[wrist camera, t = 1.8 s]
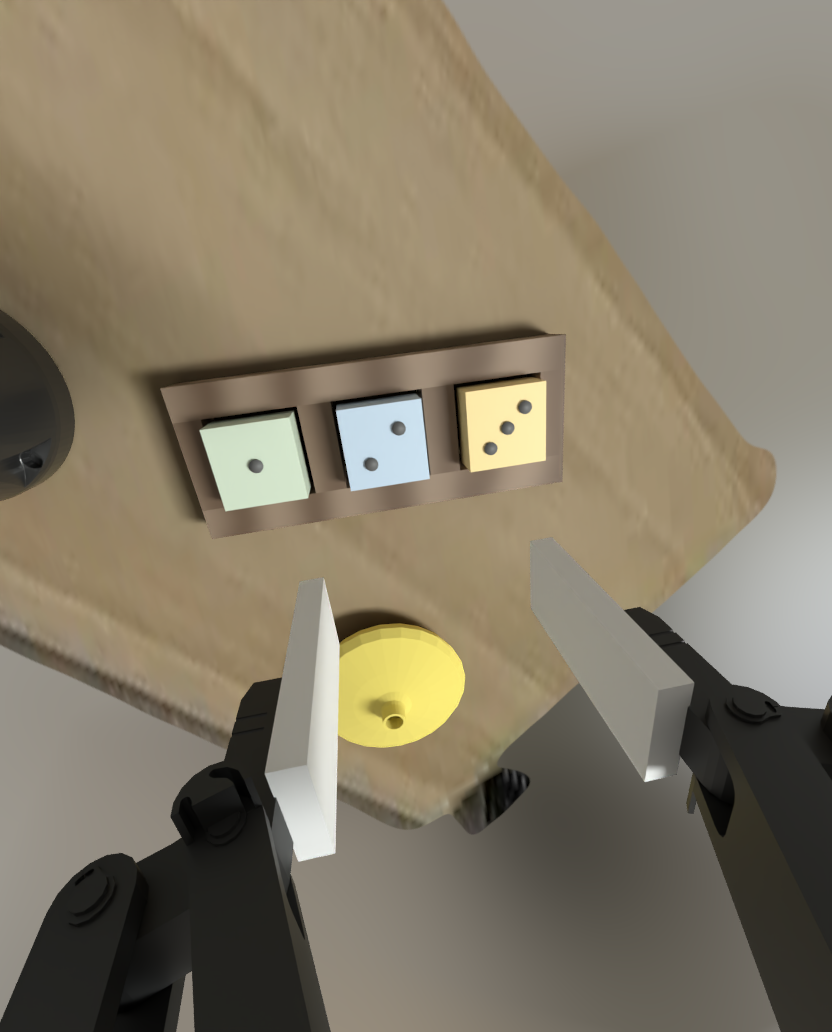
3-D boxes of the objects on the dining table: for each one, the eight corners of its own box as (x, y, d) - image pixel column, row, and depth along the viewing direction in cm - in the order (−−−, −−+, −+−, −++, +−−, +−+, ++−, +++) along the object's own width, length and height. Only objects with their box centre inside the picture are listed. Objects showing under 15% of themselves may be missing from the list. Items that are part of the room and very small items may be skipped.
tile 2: (350, 479, 37) (351, 492, 34) (336, 404, 34) (335, 411, 31) (423, 467, 37) (430, 479, 34) (415, 392, 35) (421, 398, 32)
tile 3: (461, 461, 37) (471, 473, 34) (455, 387, 35) (466, 392, 32) (531, 450, 38) (546, 461, 35) (530, 376, 35) (547, 381, 32)
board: (221, 524, 38) (211, 539, 36) (175, 383, 34) (160, 388, 31) (547, 471, 41) (562, 481, 38) (549, 333, 36) (565, 334, 33)
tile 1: (234, 497, 36) (224, 512, 33) (211, 421, 33) (198, 430, 30) (311, 485, 36) (307, 499, 33) (293, 410, 34) (289, 418, 31)
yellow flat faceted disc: (344, 591, 43) (344, 637, 37) (482, 630, 48) (503, 678, 41) (294, 708, 48) (286, 766, 42) (423, 733, 52) (434, 790, 46)
